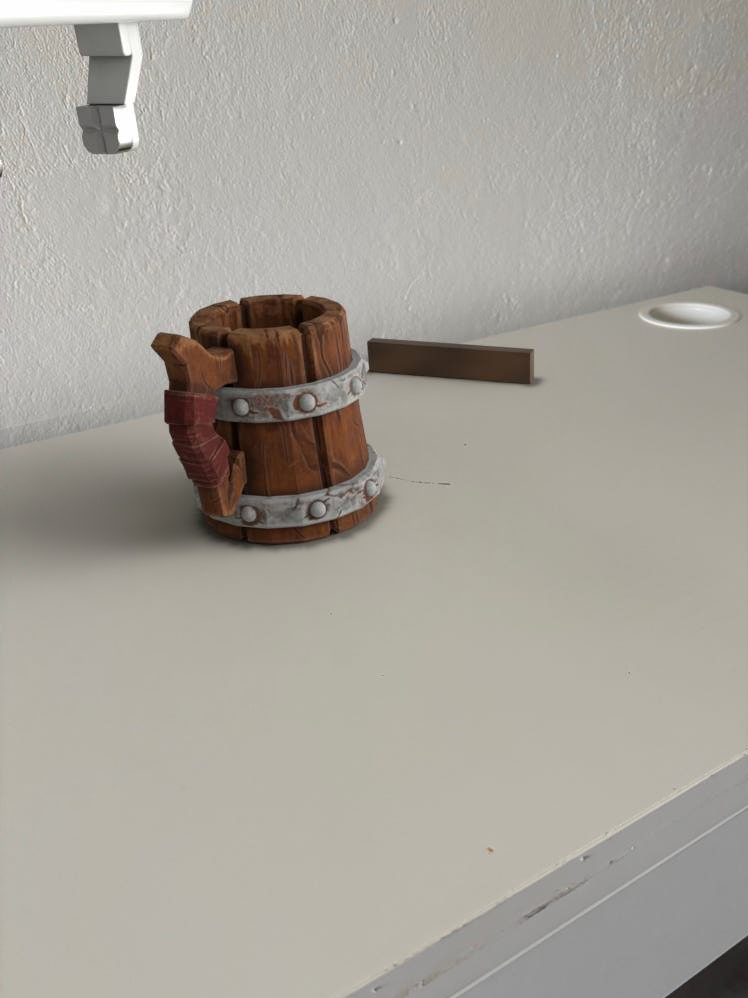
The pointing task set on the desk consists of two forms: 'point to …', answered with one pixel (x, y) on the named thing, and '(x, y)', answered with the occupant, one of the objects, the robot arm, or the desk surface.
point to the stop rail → (451, 360)
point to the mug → (271, 418)
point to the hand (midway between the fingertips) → (48, 166)
